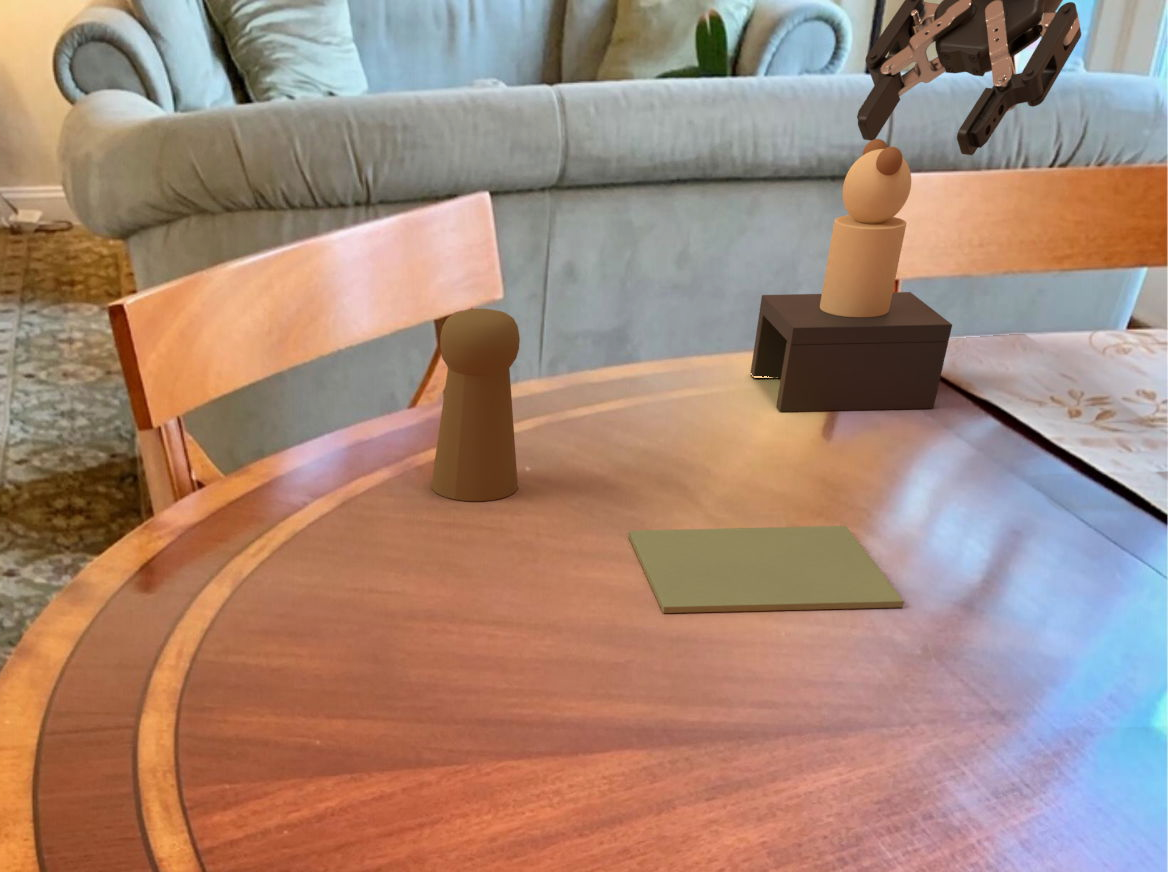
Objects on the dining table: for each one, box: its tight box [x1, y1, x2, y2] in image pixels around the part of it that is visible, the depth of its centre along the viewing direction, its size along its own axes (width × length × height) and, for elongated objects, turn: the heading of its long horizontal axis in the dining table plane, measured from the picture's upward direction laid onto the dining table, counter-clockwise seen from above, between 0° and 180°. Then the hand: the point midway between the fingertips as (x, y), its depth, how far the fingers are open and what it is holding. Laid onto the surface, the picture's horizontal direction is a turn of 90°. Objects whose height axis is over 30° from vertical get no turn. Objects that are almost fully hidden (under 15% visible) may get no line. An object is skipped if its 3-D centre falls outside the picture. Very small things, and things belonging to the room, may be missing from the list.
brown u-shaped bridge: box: [750, 291, 953, 413], centre depth 116 cm, size 12×10×6 cm
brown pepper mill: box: [430, 308, 521, 502], centre depth 98 cm, size 6×6×11 cm
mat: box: [628, 525, 905, 614], centre depth 90 cm, size 14×12×1 cm
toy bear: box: [820, 138, 912, 318], centre depth 110 cm, size 5×5×11 cm
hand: (912, 139), depth 108 cm, fingers open, 8 cm apart
